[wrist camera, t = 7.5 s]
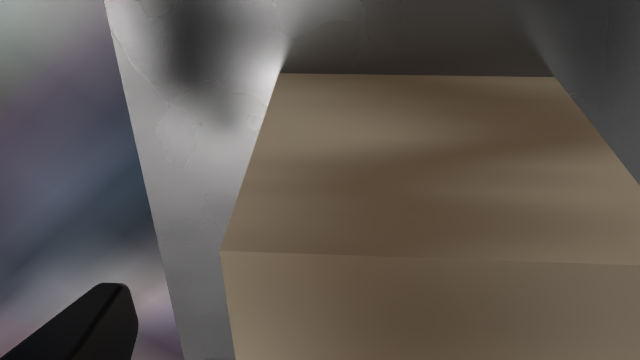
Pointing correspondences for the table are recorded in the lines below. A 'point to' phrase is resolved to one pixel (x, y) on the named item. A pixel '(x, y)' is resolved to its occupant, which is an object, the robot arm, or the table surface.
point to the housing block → (432, 225)
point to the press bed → (327, 58)
